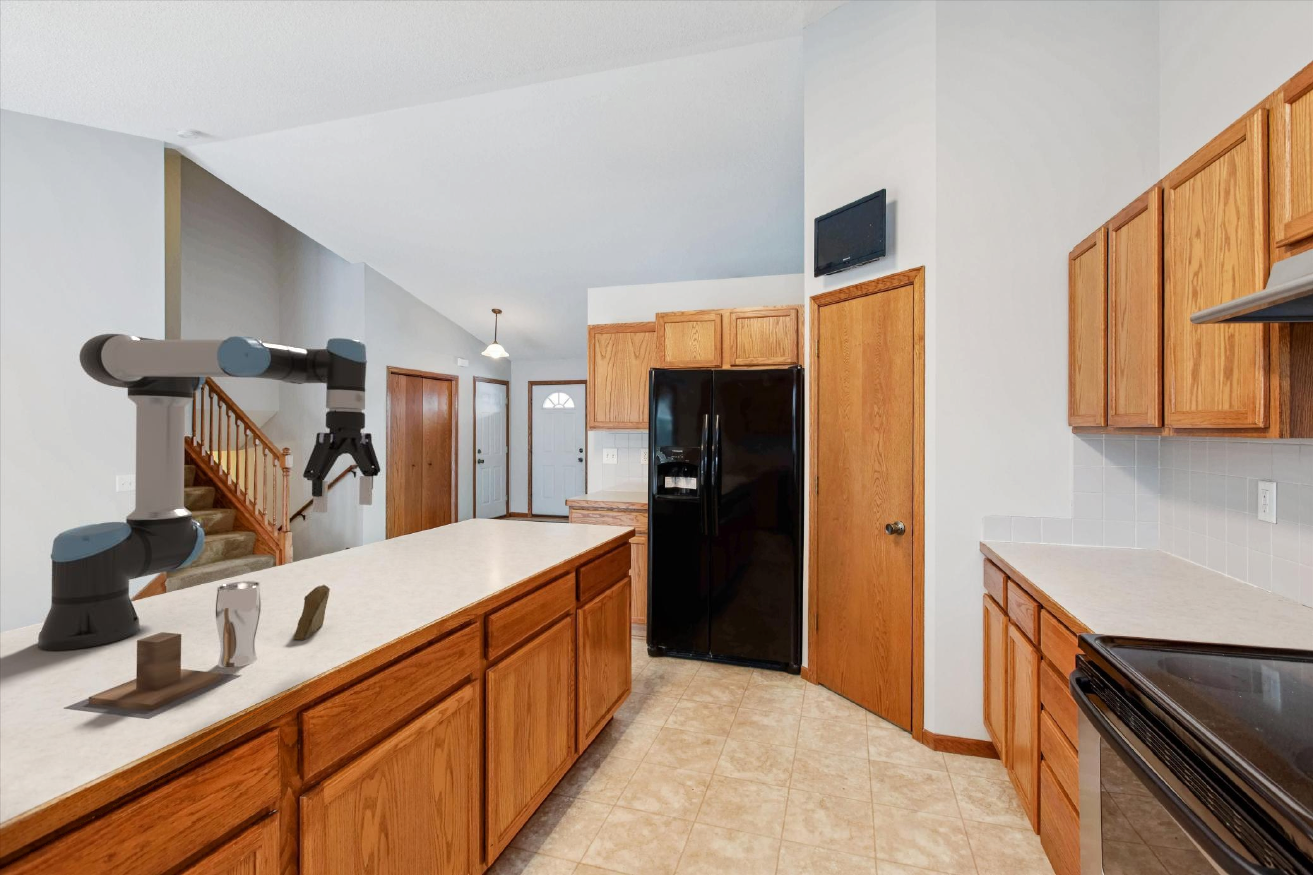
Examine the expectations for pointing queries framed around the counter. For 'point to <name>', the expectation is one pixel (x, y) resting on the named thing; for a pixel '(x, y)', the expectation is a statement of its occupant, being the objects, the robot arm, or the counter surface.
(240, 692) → the counter surface
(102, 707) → the mat
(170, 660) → the lid
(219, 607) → the beer glass
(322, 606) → the rock
